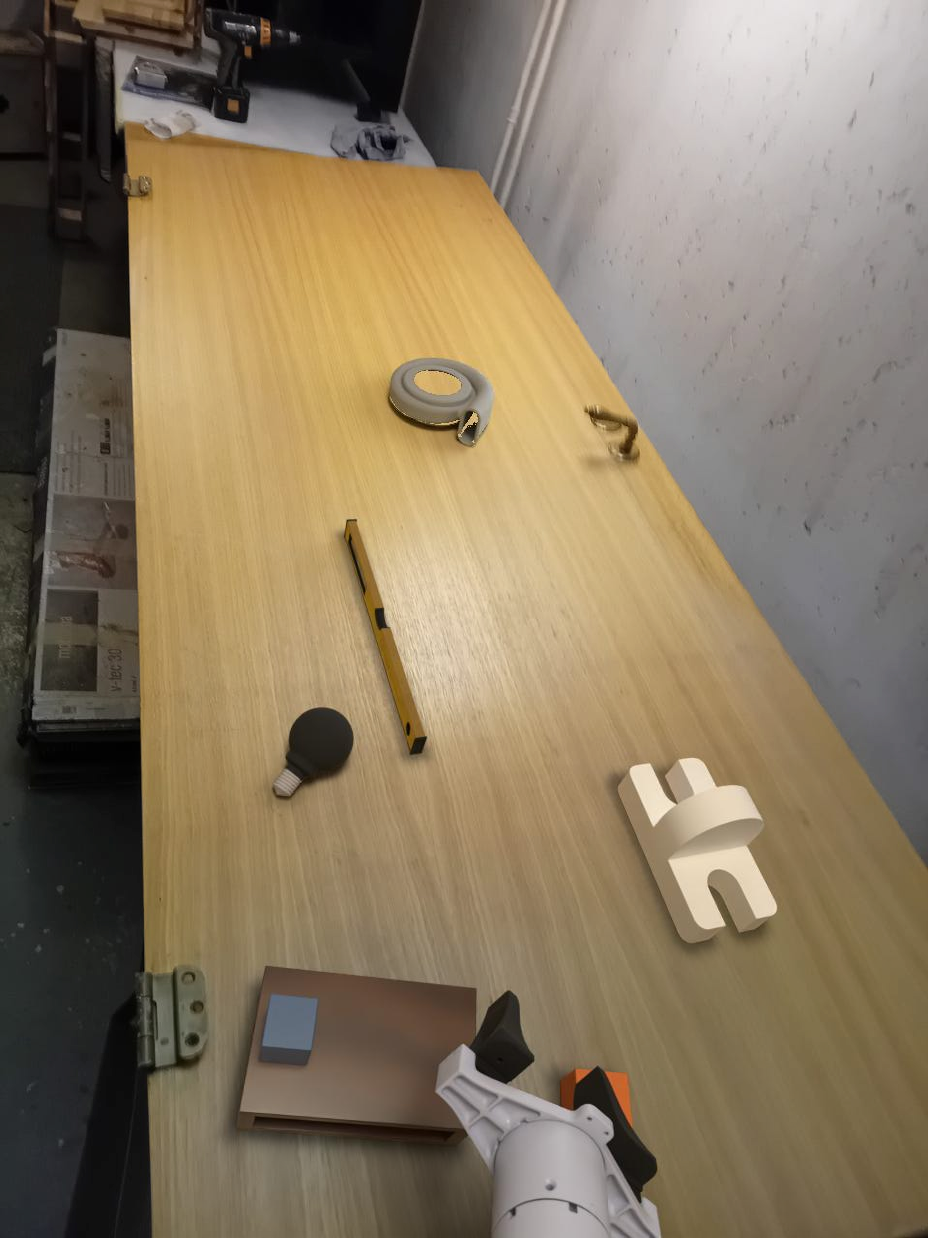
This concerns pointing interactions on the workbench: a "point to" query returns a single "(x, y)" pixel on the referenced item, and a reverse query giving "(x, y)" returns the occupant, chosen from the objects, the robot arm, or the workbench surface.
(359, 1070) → the shelf
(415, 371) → the turbocharger housing
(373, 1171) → the workbench surface
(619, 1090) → the orange box
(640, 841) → the cream double-notched bracket
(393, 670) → the spirit level
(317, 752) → the light bulb
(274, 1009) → the blue box
